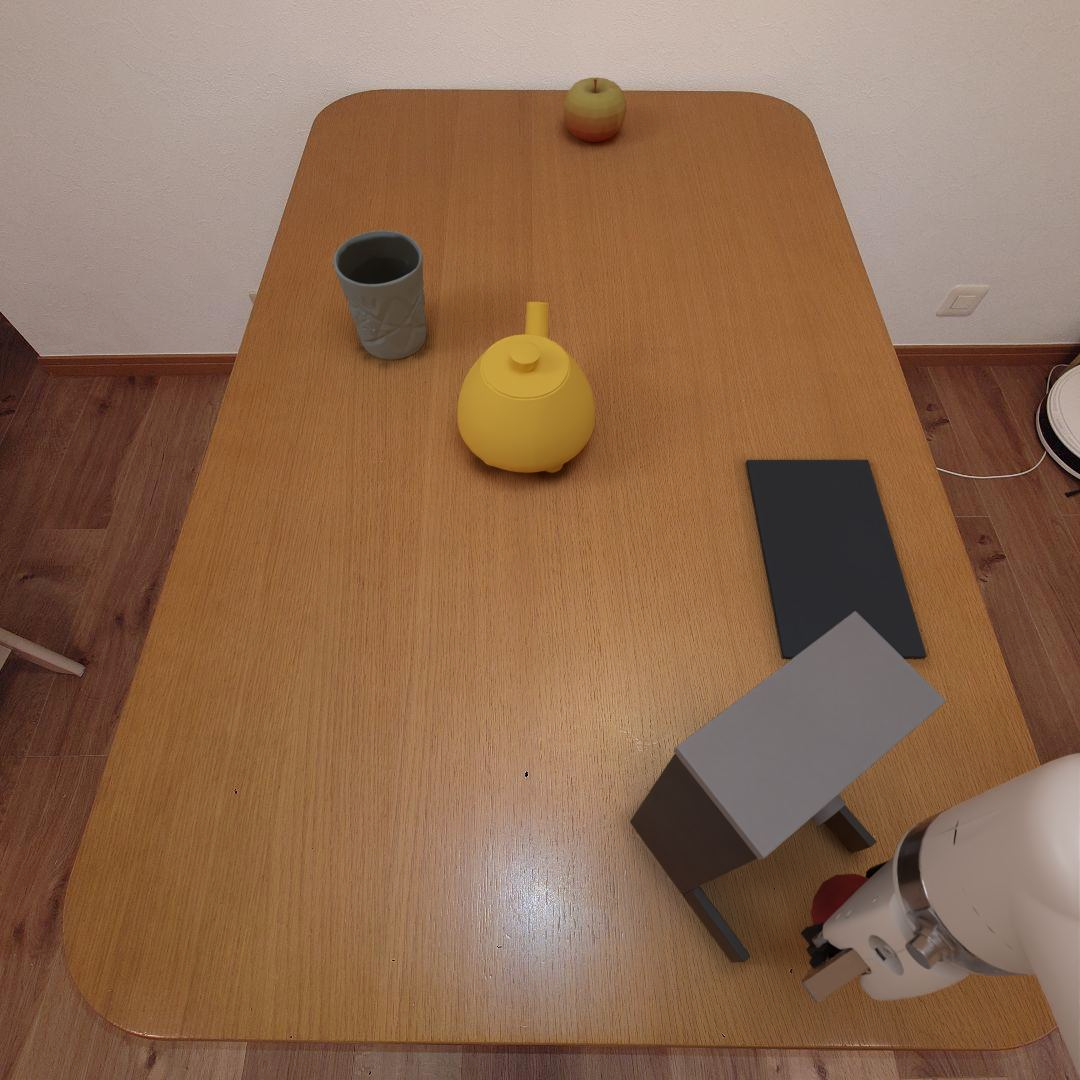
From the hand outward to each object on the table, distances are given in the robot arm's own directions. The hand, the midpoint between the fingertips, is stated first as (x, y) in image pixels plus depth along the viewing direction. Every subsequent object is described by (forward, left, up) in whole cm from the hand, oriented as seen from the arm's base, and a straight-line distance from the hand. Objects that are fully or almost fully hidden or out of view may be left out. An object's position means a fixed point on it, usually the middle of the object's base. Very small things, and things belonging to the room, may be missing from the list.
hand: (852, 919), depth 51 cm
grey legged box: (+8, 0, -9) cm, 12 cm away
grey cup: (+79, -5, -9) cm, 80 cm away
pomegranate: (0, 0, -3) cm, 3 cm away
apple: (+101, -54, -9) cm, 115 cm away
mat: (+24, -27, -9) cm, 37 cm away
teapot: (+57, -11, -9) cm, 59 cm away
